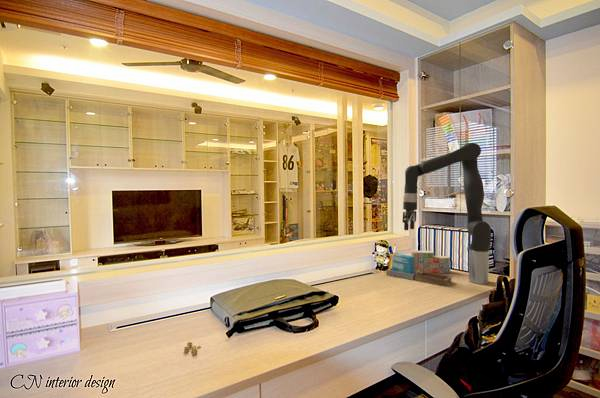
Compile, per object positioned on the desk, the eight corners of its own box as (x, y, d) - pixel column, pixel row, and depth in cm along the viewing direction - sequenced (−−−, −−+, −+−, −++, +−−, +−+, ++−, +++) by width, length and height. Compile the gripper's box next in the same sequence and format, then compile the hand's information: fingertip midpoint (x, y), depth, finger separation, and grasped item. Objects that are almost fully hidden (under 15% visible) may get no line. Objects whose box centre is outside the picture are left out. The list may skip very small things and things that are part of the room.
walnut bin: (421, 276, 181) (421, 271, 181) (451, 282, 171) (451, 276, 171) (414, 280, 174) (415, 275, 174) (445, 286, 163) (445, 280, 163)
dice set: (196, 356, 96) (195, 350, 96) (180, 355, 97) (180, 349, 97) (203, 348, 101) (203, 342, 101) (189, 347, 102) (189, 341, 102)
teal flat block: (392, 274, 187) (392, 254, 187) (396, 273, 190) (396, 253, 189) (409, 278, 177) (409, 257, 177) (414, 277, 180) (414, 256, 180)
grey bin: (393, 271, 193) (393, 266, 192) (419, 276, 182) (420, 271, 182) (386, 275, 185) (386, 270, 185) (413, 280, 174) (413, 274, 174)
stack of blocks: (446, 270, 195) (447, 251, 194) (450, 273, 188) (450, 253, 188) (410, 269, 198) (411, 250, 198) (412, 272, 192) (413, 252, 191)
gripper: (412, 201, 171) (410, 231, 172) (421, 201, 182) (420, 229, 183) (398, 201, 176) (397, 229, 177) (408, 200, 187) (407, 228, 188)
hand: (409, 229), depth 180 cm, fingers open, 8 cm apart
